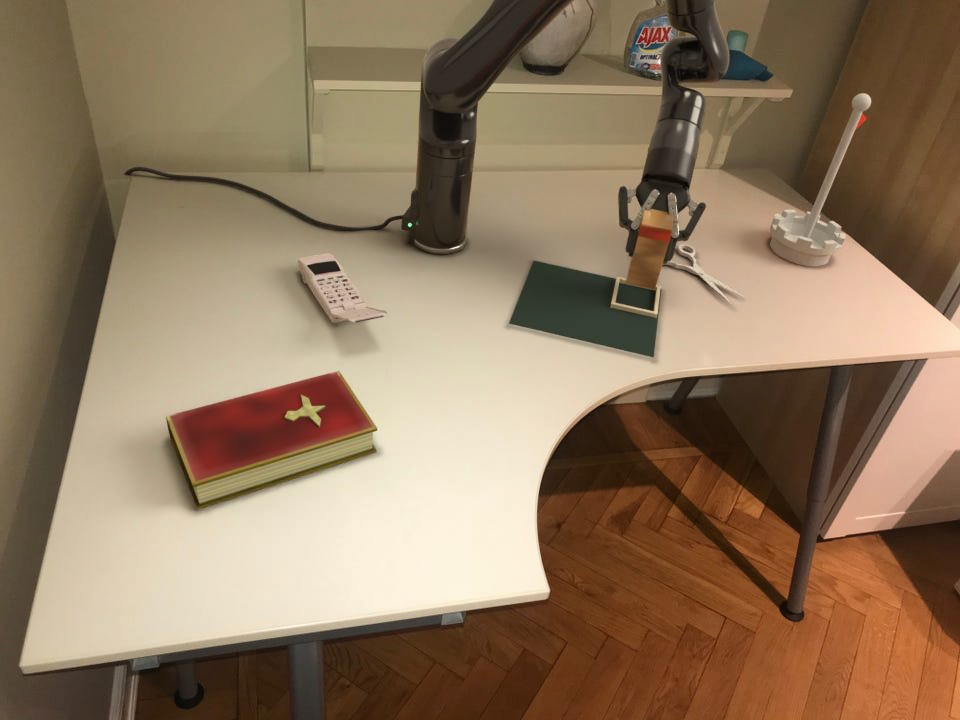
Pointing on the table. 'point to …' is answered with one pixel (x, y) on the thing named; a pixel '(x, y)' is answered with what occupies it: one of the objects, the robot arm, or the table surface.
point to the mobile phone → (335, 290)
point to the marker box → (650, 248)
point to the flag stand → (816, 210)
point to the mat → (589, 308)
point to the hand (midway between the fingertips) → (647, 258)
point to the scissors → (698, 269)
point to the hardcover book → (269, 437)
